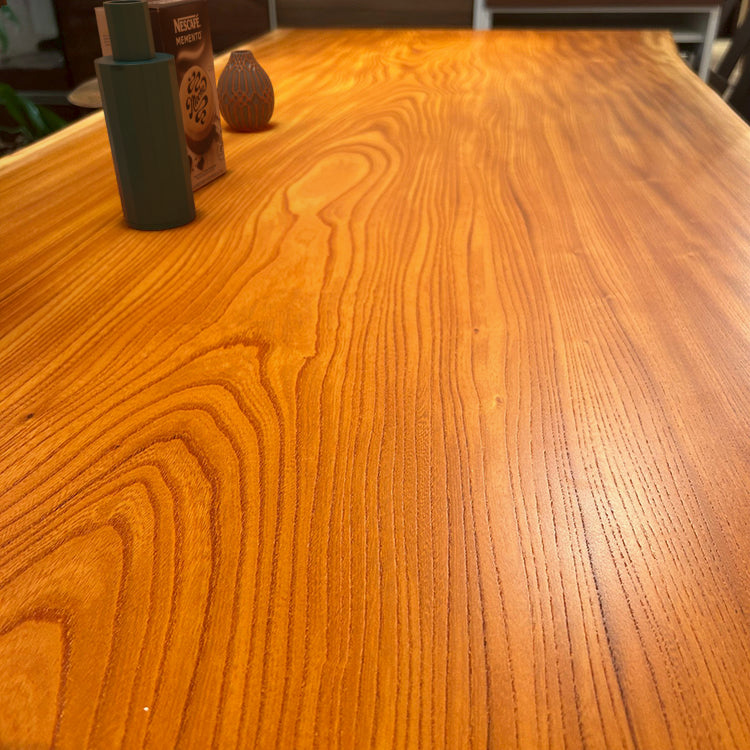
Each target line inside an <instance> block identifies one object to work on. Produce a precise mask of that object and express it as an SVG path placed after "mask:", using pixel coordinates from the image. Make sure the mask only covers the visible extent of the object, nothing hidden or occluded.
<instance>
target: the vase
mask: <svg viewBox="0 0 750 750" xmlns="http://www.w3.org/2000/svg"><path fill="white" fill-rule="evenodd" d="M216 86H217V95H218V103H219V111H220V116H221V117H222V119H223V121H224V122H225V123H226V124H227V125H228V126H229V127H230V128H231V129H232V130H235V131H240V132H250V131H258V130H262V129H264V128H265V127H267V125H268V123H269V122H270V121H271V119H272V118H273V115H274V111H275V104H276V103H275V100H276V99H275V90H274V86H273V83H272V80H271V78H270V76H269V74H268V72H266V70H265V69H264V68H263V67H262V65H261V64H260V63H259V62H258V60H257V59H256V57H255V56H254V54H253V51H252V50H250V49H235V50H232V51H230V55H229V58H228V60H227V62H226V64H225V66H224V67H223V69H222V71H221V73H220V74H219V77H218V80H217V83H216Z"/></svg>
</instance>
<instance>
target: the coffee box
mask: <svg viewBox="0 0 750 750" xmlns="http://www.w3.org/2000/svg"><path fill="white" fill-rule="evenodd" d="M146 1H147V2H148V9H149V15H150V22H151V28H152V35H153V42H154V48H155V52H157V53H168V54H171V55H174V60H175V67H176V74H177V81H178V88H179V95H180V102H181V109H182V117H183V124H184V131H185V138H186V145H187V152H188V159H189V166H190V173H191V180H192V187H193V192H195V191H197V190H198V189H200V188H202V187H203V186H205V185H207V184H208V183H210V182H212V181H213V180H215V179H216V178H218V177H220V176H221V175H223V174H225V173H226V172H227V163H226V156H225V155H226V154H225V146H224V138H223V128H222V119H221V113H220V110H219V103H218V95H217V79H216V72H215V71H216V70H215V69H216V68H215V61H214V54H213V53H214V52H213V44H212V34H211V27H210V18H209V10H208V0H146ZM94 12H95V19H96V24H97V30H98V35H99V42H100V48H101V53H102V57H104V56H110V55H112V50H111V45H110V39H109V34H108V28H107V23H106V17H105V11H104V6H97V7H94Z"/></svg>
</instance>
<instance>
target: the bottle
mask: <svg viewBox="0 0 750 750" xmlns="http://www.w3.org/2000/svg"><path fill="white" fill-rule="evenodd" d="M102 7H104V11H105V17H106V23H107V28H108V34H109V39H110V45H111V50H112V55H110V56H104V57H103V56H101V57H98V58H95V59H94V61H93V63H94V64H93V65H94V69H95V74H96V80H97V85H98V90H99V95H100V100H101V106H102V111H103V116H104V121H105V127H106V131H107V136H108V142H109V147H110V153H111V159H112V164H113V169H114V173H115V174H114V175H115V179H116V184H117V190H118V195H119V199H120V205H121V210H122V215H123V218H124V223H125V225H126V226H127V227H130V228H132V229H135V230H140V231H161V230H162V231H163V230H170V229H173V228H179V227H182V226H185V225H187V224H190V223H191V222H193V221H195V219H196V217H197V210H196V201H195V194H194V191H193V187H192V180H191V173H190V166H189V159H188V152H187V145H186V138H185V131H184V124H183V117H182V109H181V102H180V95H179V88H178V81H177V74H176V67H175V60H174V55H171V54H168V53H157V52H155V48H154V42H153V35H152V28H151V22H150V15H149V9H148V2H147V1H146V0H106V1H103V2H102Z"/></svg>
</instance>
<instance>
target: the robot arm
mask: <svg viewBox="0 0 750 750" xmlns="http://www.w3.org/2000/svg"><path fill="white" fill-rule="evenodd" d="M7 5H8V1H7V0H0V9H2V6H3V7H4V6H7Z"/></svg>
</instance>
